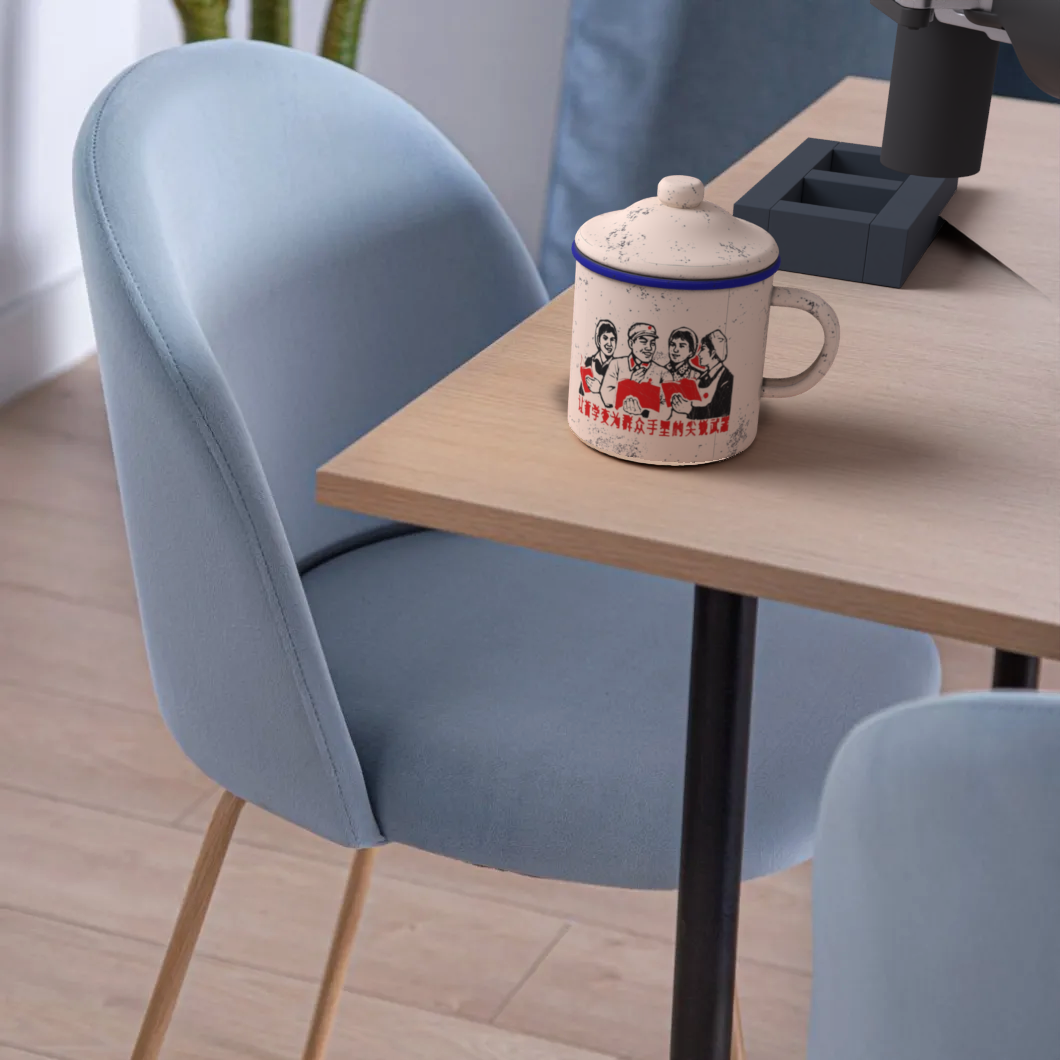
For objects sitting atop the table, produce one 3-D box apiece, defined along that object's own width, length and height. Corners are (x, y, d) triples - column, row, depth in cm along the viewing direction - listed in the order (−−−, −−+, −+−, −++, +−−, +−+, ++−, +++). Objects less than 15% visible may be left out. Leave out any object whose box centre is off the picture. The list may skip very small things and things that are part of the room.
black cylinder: (957, 152, 84) (993, -89, 80) (995, 178, 80) (1036, -75, 76) (866, 152, 84) (896, -91, 79) (900, 178, 80) (934, -77, 75)
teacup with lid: (543, 457, 77) (556, 197, 72) (581, 384, 85) (595, 145, 80) (819, 492, 75) (852, 226, 70) (831, 413, 83) (862, 170, 78)
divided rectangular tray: (953, 210, 116) (961, 157, 114) (900, 288, 100) (908, 229, 99) (802, 188, 119) (807, 137, 117) (727, 261, 104) (733, 203, 102)
